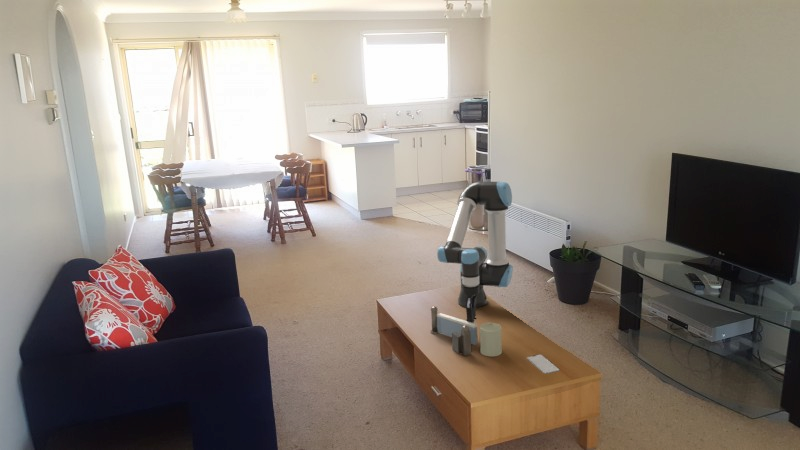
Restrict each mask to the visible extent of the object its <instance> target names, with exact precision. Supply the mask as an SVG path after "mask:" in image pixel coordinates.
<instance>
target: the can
mask: <svg viewBox="0 0 800 450" xmlns="http://www.w3.org/2000/svg"><path fill="white" fill-rule="evenodd" d="M479 333H480V334H479V335H480V341H479V342H480V351H479V353H480V354H481V355H483V356H484V357H485V356H486V357H492V358H493V357H497V356H498V357H499V356H500V355H502V354H503V351H502V350H503V349H502V326H501V324H499V323H496V322H485V323H482V324H480V325H479Z"/></svg>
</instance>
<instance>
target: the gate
mask: <svg viewBox="0 0 800 450" xmlns="http://www.w3.org/2000/svg"><path fill="white" fill-rule="evenodd" d="M464 325H467V326H468V327H469V328H470V331H471V345H474V346H475V345H478V339H479V338H478V336H479V335H478V324H477V323H476V322H475V323H471V322H468V321H466V320H465V319H461V318H458V317H455V316H451V315H448V314H444V313H441V312H439V313H437V326H438V333H439V334H442V335H445V336H447V337H448V336H449V337H450V338H452V333H453V332H455V333H457V334H459V335H460V336H461V330H462V327H463V326H464Z"/></svg>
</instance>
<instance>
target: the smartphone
mask: <svg viewBox="0 0 800 450" xmlns="http://www.w3.org/2000/svg"><path fill="white" fill-rule="evenodd" d="M526 360H528V361H529V362H530V363H531V364H532V365H533V366H534V367H536V368H537V369H538V371H540V372H541V373H542V374H544V375H545V374H546V375H547V374H552V373H556V372H560V368H559V367H557V365H555V364H554V363H552V362H551V361H550V360H549V359H548V358H547V357H545V356H544V355H543V354H541V353H540V354H536V355H529V356H527V357H526Z"/></svg>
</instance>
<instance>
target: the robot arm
mask: <svg viewBox="0 0 800 450" xmlns="http://www.w3.org/2000/svg"><path fill="white" fill-rule="evenodd" d="M512 194H513V193H512V189H511V186H510V184H509V183H508V182H504V181H503V182H502V181H475V182H471V183H470V184H468V185H467V186H466V187H465V188H463V190H462V191H461V193H460V195H459V197H458V199H457V203H456V204H457V208H456V211H455V214H454V218H453V221H452V224H451V227H450V230H449V232H448V236H447V240H446V242H445V244H444V245H442V246H441V245H440V246H439V247H438V249H437V259H438V261H439V262H441V263H445V264H458V265H459V264H460V265H459V267H460V270H459V272H460V291H459V294H458V298H457V303H458V305H459V306H460V307H463V308H465V310H466V311H465V312H466V320H465V321H468V322H471V323H475V324H476V320H477V318H478V317H476V316H477V313H476V312H477V308H480V307H484V306H486V305H487V304H488V299H487V298H488V297H487V295H486V292H485V290H484V286H487V287H494V288H496V287H497V288H507V287H509V285H510V284H511V281H512V278H513V274H514V273H513V271H514V267H513V264H510V260H509V259H508V258H507V249H506V248H507V245H506V241H507V240H506V238H507V237H506V236H507V235H506V212H507V211H508V210H509V207H510V206H511V205H512V204H513V203H512V202H513V201H512V200H513V195H512ZM477 206H484V210H485V212H486V213H487V236H488V237H487V239H488V240H487V242H488V245H487V246H488V252H487V249H485V248H484V247H483V246H480V245H479V246H475V247H462V246H463V244H464V243H463V242H464V240H465V237H466V234H467V231H468V227H469V225H470V222H471V218H472V215H473V211H475V210H476V209H477Z"/></svg>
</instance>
